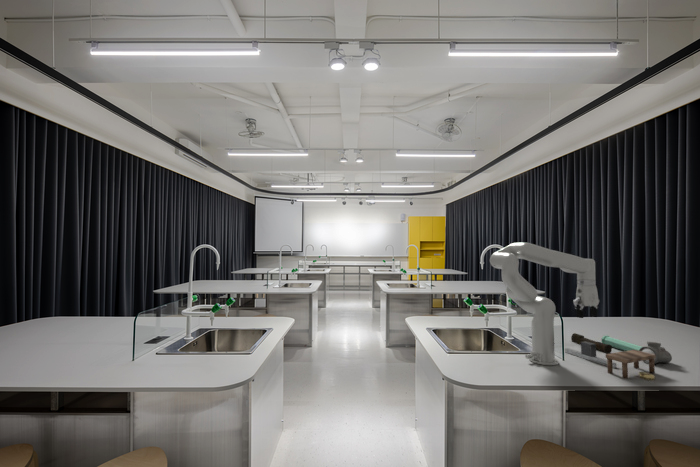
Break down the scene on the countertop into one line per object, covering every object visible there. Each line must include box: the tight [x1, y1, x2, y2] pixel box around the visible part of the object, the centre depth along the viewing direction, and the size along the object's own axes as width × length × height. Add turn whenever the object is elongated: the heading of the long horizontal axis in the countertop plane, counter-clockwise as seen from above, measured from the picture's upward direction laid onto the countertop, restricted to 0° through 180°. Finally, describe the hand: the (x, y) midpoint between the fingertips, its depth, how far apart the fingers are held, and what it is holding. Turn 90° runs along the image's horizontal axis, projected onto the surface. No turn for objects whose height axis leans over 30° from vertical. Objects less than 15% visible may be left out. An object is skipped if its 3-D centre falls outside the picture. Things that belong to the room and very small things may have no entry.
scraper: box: [564, 341, 617, 369], centre depth 163 cm, size 4×24×8 cm, turn 19°
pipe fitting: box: [639, 341, 673, 365], centre depth 158 cm, size 12×8×10 cm
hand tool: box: [570, 332, 613, 354], centre depth 183 cm, size 23×5×6 cm, turn 10°
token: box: [638, 371, 656, 381], centre depth 140 cm, size 5×5×2 cm
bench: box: [605, 350, 655, 380], centre depth 146 cm, size 20×8×8 cm, turn 109°
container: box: [601, 335, 642, 352], centre depth 175 cm, size 6×6×25 cm
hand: (586, 317), depth 164 cm, fingers open, 9 cm apart
